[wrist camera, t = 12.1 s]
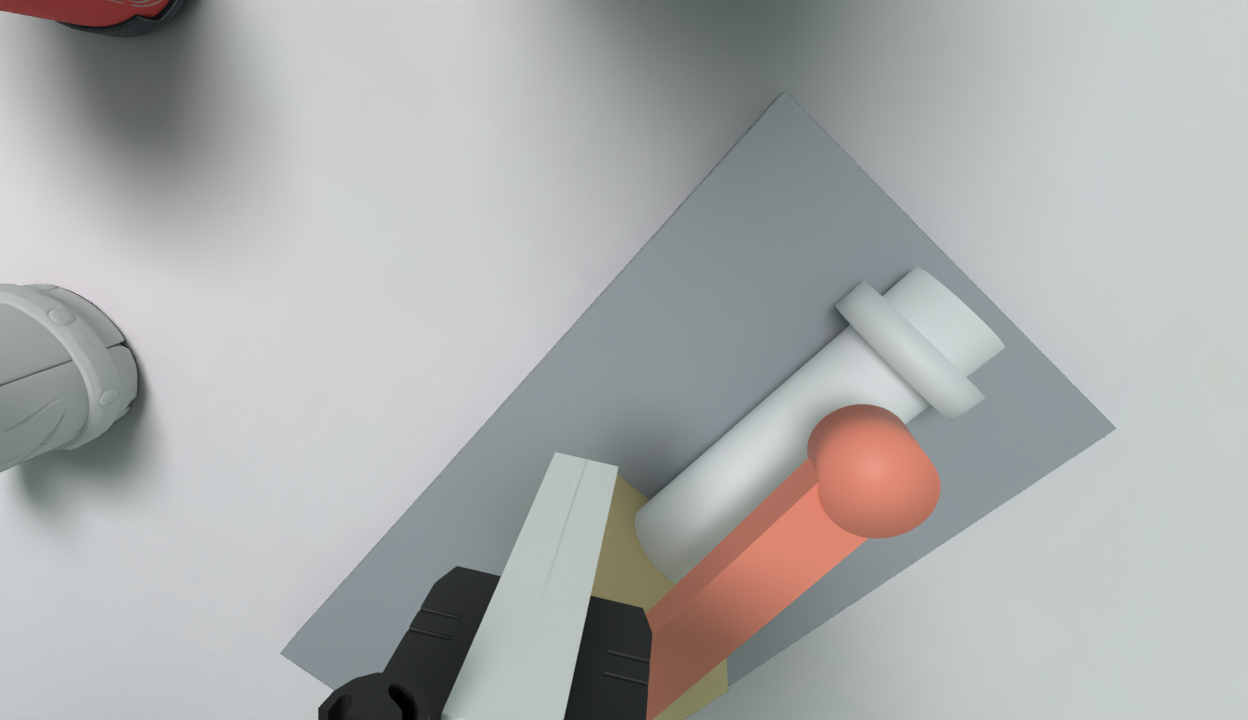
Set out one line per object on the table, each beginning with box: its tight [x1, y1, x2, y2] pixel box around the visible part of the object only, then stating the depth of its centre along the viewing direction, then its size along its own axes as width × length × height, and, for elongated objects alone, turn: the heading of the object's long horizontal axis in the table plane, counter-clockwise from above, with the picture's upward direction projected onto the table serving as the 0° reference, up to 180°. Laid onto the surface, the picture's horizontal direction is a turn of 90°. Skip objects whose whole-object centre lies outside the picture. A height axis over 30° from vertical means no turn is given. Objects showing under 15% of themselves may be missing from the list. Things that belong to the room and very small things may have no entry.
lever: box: [646, 404, 941, 720], centre depth 16 cm, size 15×3×2 cm, turn 144°
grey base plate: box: [280, 91, 1117, 720], centre depth 23 cm, size 36×17×8 cm, turn 139°
